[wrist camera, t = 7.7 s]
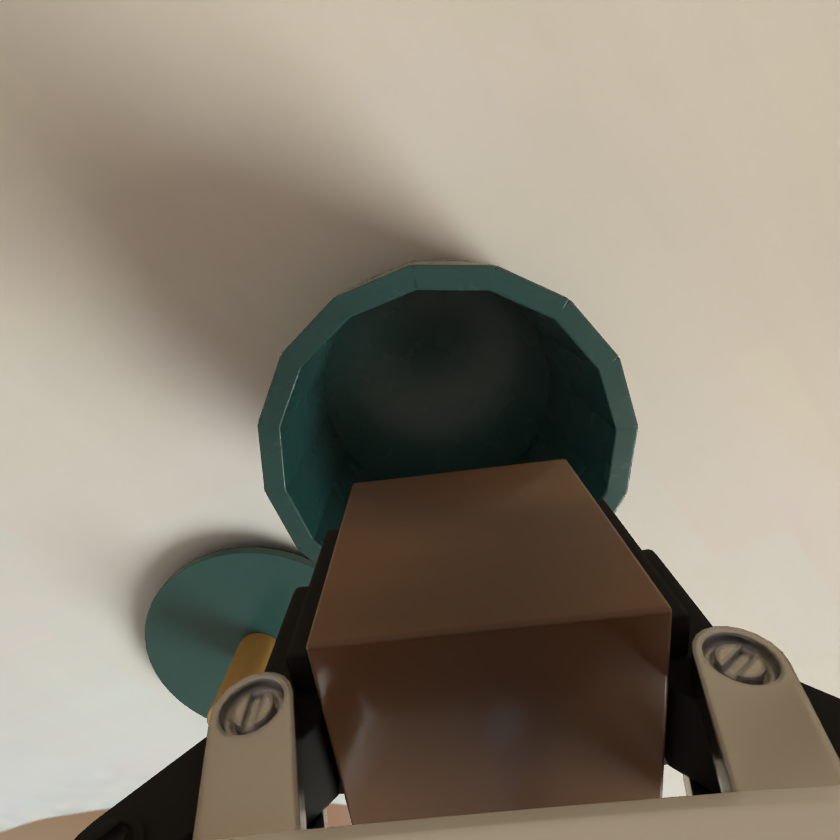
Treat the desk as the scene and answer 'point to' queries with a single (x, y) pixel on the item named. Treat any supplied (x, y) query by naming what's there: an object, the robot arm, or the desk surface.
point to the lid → (221, 620)
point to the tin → (439, 391)
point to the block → (489, 648)
